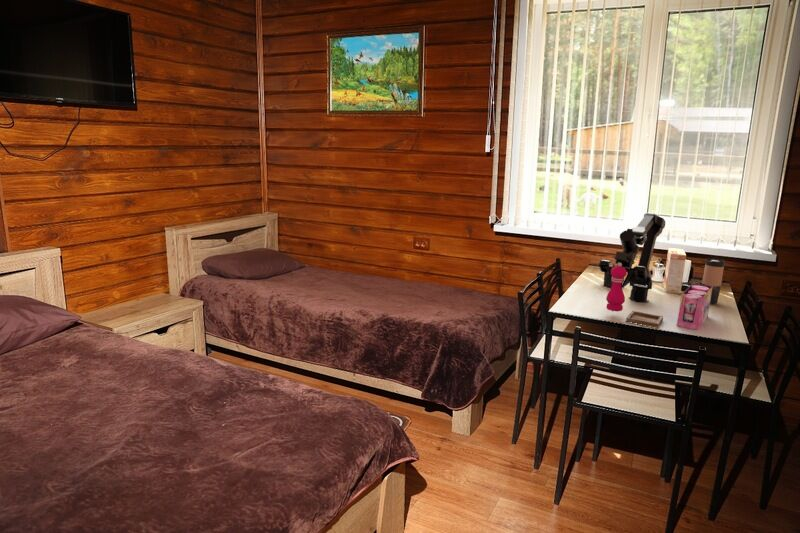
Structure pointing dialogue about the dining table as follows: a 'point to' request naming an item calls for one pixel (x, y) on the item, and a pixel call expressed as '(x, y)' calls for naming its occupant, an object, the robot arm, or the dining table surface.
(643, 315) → the walnut tray
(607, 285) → the pen holder
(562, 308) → the dining table surface
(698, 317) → the gum box
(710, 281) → the travel mug
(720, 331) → the dining table surface
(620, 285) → the pepper mill
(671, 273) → the coffeecake box
